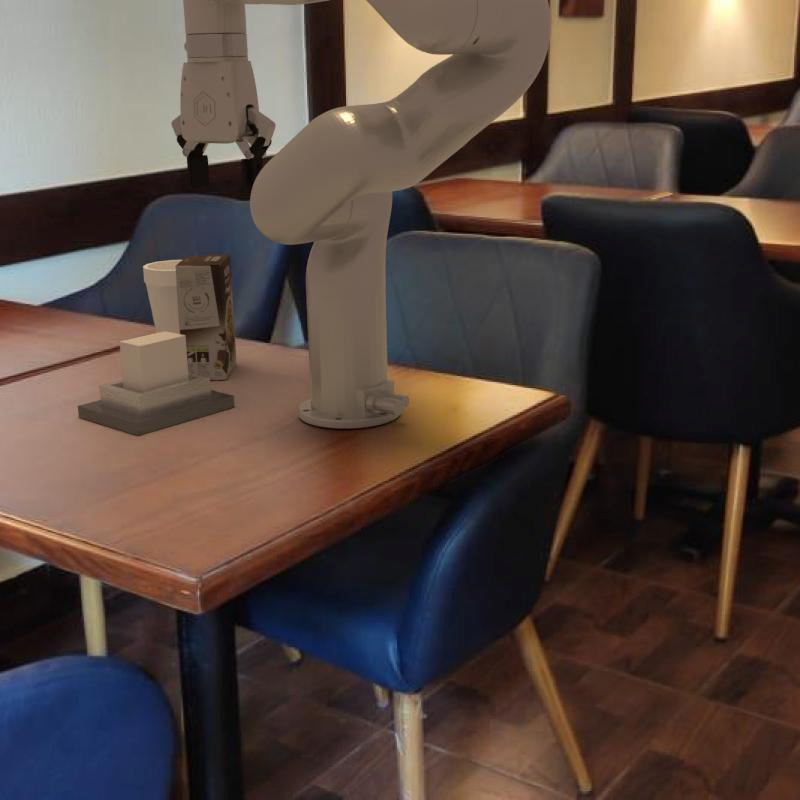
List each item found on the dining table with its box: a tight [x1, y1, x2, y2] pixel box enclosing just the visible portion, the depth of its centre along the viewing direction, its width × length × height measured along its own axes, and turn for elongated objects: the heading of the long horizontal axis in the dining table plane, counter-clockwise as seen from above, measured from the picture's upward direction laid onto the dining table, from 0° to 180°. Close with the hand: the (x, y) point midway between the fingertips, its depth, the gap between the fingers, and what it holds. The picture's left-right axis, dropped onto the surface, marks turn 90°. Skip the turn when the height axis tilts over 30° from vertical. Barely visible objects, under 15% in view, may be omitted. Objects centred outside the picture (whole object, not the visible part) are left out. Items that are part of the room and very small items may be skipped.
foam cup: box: [142, 259, 183, 334], centre depth 181 cm, size 10×9×13 cm
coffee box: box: [175, 253, 237, 381], centre depth 167 cm, size 9×6×16 cm
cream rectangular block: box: [119, 331, 189, 393], centre depth 149 cm, size 7×4×8 cm, turn 139°
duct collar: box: [77, 372, 235, 437], centre depth 150 cm, size 12×15×4 cm
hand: (225, 188), depth 154 cm, fingers open, 9 cm apart
